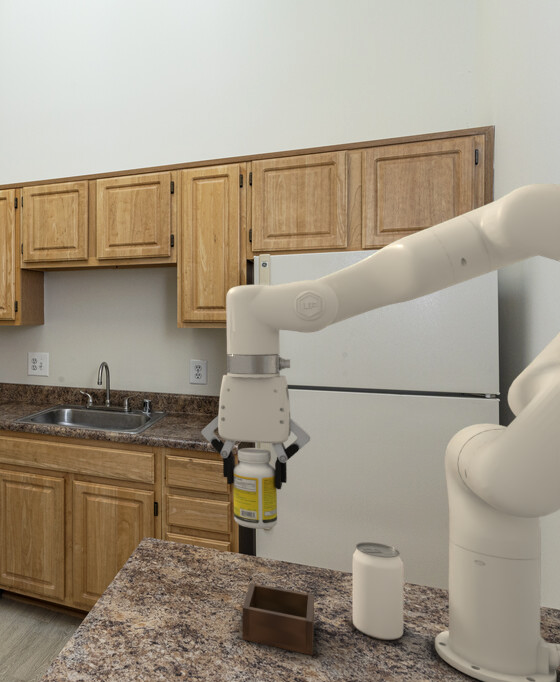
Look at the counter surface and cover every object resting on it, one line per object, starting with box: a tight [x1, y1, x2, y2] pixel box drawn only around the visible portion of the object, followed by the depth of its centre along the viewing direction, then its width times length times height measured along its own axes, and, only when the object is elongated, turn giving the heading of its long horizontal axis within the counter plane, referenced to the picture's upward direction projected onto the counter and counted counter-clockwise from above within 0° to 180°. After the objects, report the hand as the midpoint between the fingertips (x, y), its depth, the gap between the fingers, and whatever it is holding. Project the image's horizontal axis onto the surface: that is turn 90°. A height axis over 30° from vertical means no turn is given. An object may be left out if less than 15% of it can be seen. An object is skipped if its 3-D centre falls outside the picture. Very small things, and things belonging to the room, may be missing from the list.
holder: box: [242, 582, 315, 656], centre depth 82 cm, size 9×9×5 cm
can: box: [352, 541, 404, 641], centre depth 83 cm, size 6×6×12 cm
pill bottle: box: [232, 447, 278, 530], centre depth 85 cm, size 6×6×11 cm
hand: (254, 483), depth 85 cm, fingers closed on pill bottle, 6 cm apart
